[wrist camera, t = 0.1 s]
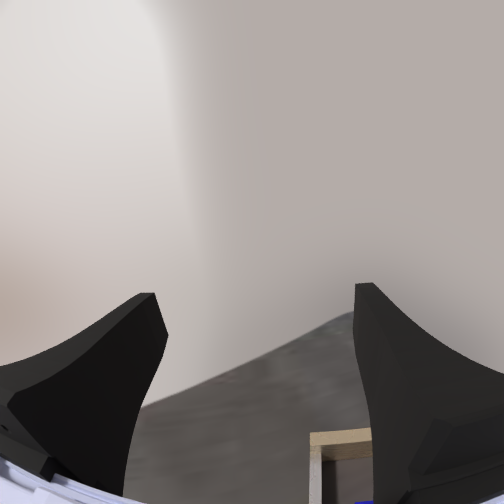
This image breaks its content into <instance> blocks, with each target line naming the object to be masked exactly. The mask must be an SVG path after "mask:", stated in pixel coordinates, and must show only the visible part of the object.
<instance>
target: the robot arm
mask: <svg viewBox="0 0 504 504" xmlns="http://www.w3.org/2000/svg"><path fill="white" fill-rule="evenodd" d="M353 337H354V345H355V353H356V358H357V362H358V366H359V370H360V374H361V379H362V383H363V387H364V391H365V395H366V400H367V404H368V409H369V415H370V425H371V436H372V451H373V480H374V495H373V504H504V374H503V373H500V372H497V371H495V370H492V369H490V368H488V367H485V366H483V365H481V364H479V363H476V362H475V361H472V360H470V359H468V358H467V357H465V356H463V355H461V354H459V353H458V352H456V351H454V350H452V349H451V348H449V347H448V346H446V345H444V344H443V343H441V342H440V341H438V340H437V339H436V338H434V337H433V336H431V335H430V334H428V333H427V332H426V331H425V330H423V329H422V328H421V327H419V326H418V325H417V324H416V323H415V322H413V321H412V320H411V319H410V318H409V317H408V316H406V315H405V314H404V313H403V312H402V311H401V310H400V309H399V308H398V307H397V306H396V305H395V304H394V303H393V302H392V301H391V300H390V299H389V298H388V297H387V296H386V295H385V294H384V293H383V292H382V291H381V290H380V289H379V288H378V287H377V286H376V285H375V284H374V283H361V284H360V283H359V284H355V303H354V320H353ZM167 338H168V332H167V329H166V327H165V324H164V321H163V318H162V315H161V312H160V309H159V305H158V302H157V300H156V296H155V293H139V294H137V295H136V296H134V297H132V298H131V299H129V300H127V301H126V302H125V303H123V304H122V305H120V306H119V307H117V308H116V309H114V310H113V311H111V312H110V313H108V314H107V315H106V316H104V317H103V318H101V319H100V320H98V321H97V322H95V323H94V324H92V325H91V326H89V327H88V328H86V329H85V330H83V331H81V332H80V333H78V334H77V335H75V336H73V337H72V338H70V339H68V340H66V341H64V342H63V343H60V344H59V345H57V346H55V347H53V348H50V349H48V350H46V351H43V352H41V353H39V354H37V355H35V356H32V357H29V358H27V359H24V360H21V361H18V362H14V363H11V364H8V365H3V366H0V504H145V503H142V502H138V501H134V500H130V499H127V498H123V486H124V477H125V470H126V464H127V458H128V453H129V448H130V444H131V439H132V435H133V431H134V428H135V424H136V420H137V417H138V414H139V410H140V408H141V405H142V402H143V400H144V398H145V395H146V393H147V391H148V389H149V387H150V384H151V382H152V380H153V377H154V375H155V373H156V371H157V369H158V366H159V364H160V361H161V359H162V357H163V353H164V350H165V347H166V343H167Z"/></svg>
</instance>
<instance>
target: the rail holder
mask: <svg viewBox="0 0 504 504" xmlns="http://www.w3.org/2000/svg"><path fill="white" fill-rule="evenodd" d="M372 456H373V451H372V436H371V428H363V429H353V430H343V431H331V432H315V433H310V488H309V504H322V476H321V461H334V460H345V459H355V458H364V457H372Z"/></svg>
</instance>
